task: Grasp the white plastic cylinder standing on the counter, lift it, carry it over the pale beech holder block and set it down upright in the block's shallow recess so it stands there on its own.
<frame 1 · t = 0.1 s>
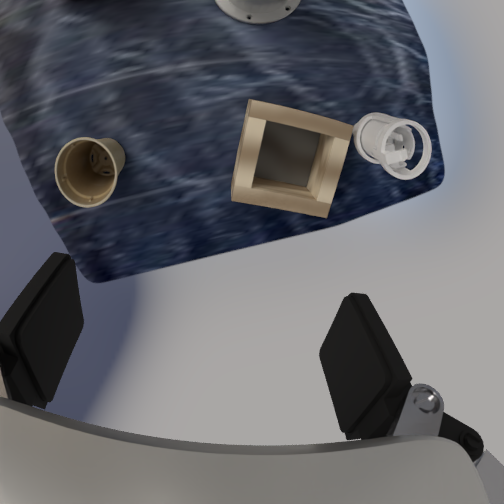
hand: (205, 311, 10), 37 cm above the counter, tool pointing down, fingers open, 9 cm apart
beech holder block: (283, 150, 43), on the counter
flower pot: (107, 157, 42), on the counter
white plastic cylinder: (361, 131, 43), on the counter
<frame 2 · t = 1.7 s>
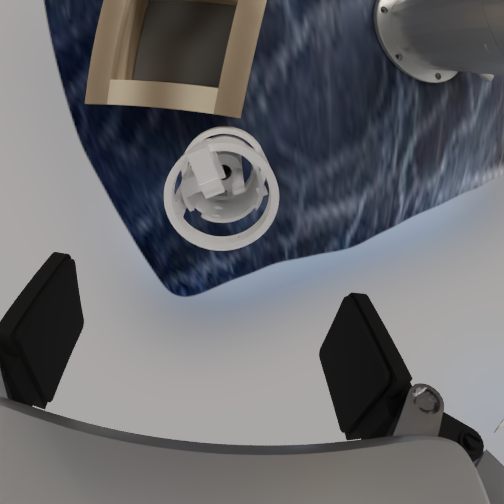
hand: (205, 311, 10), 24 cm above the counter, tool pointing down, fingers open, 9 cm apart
beech holder block: (185, 42, 24), on the counter
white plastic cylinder: (225, 153, 31), on the counter
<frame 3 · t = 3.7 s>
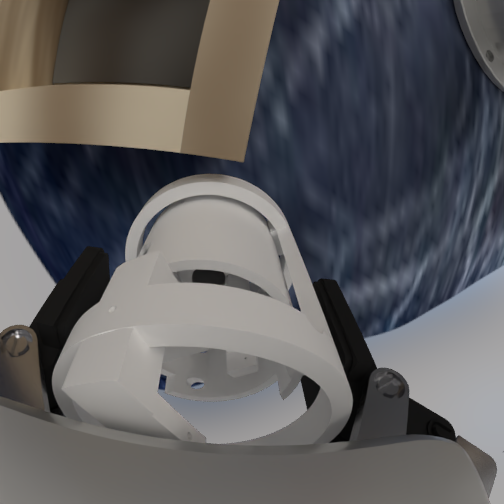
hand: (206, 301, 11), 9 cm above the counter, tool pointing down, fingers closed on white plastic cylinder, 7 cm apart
beech holder block: (143, 12, 12), on the counter
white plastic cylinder: (215, 205, 18), on the counter, touching gripper
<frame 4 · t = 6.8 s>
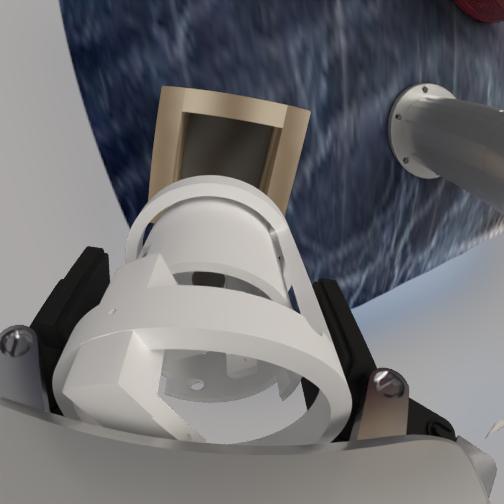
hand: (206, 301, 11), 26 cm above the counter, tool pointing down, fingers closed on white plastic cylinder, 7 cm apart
beech holder block: (225, 151, 33), on the counter
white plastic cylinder: (215, 206, 18), point 17 cm above the counter, touching gripper
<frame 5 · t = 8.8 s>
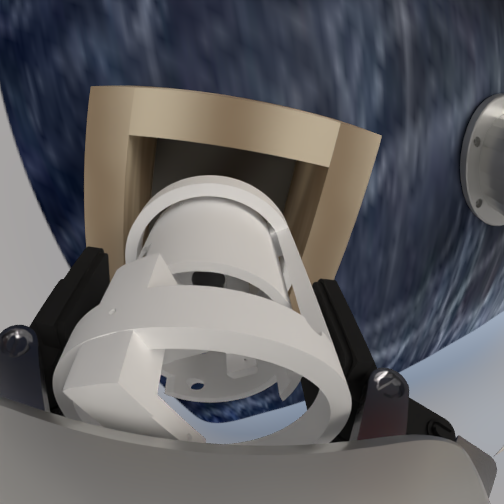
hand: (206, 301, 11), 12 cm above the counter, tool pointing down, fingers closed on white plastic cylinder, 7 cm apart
beech holder block: (218, 191, 21), on the counter
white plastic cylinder: (215, 206, 18), point 3 cm above the counter, touching gripper
when the fingers open (10 cm above the counter, at t = 10.4 s): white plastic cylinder stays where it is, resting on beech holder block.
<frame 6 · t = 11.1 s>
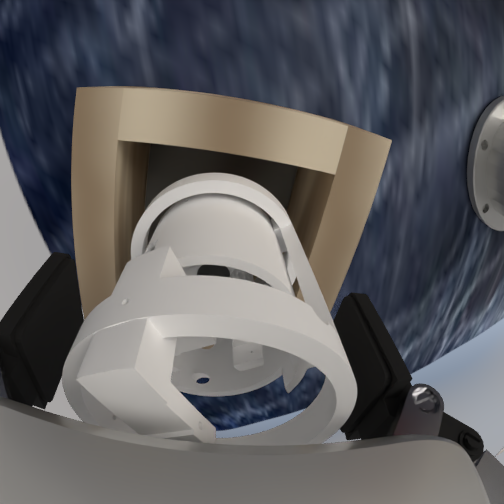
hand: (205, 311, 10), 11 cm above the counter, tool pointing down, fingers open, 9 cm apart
beech holder block: (216, 197, 20), on the counter
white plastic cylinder: (218, 204, 19), point 1 cm above the counter, touching beech holder block
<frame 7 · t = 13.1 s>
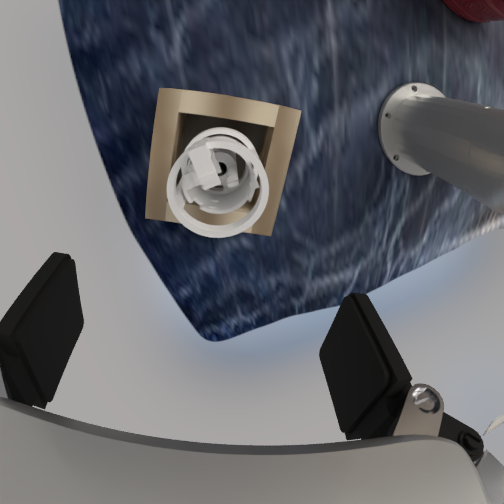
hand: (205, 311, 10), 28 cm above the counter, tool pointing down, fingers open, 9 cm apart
beech holder block: (220, 150, 34), on the counter
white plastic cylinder: (221, 152, 33), point 1 cm above the counter, touching beech holder block
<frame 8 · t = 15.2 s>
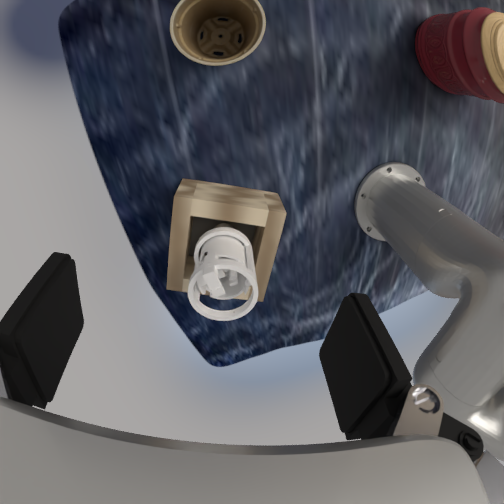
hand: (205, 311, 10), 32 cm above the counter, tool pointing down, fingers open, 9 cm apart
canister: (445, 54, 32), on the counter
beech holder block: (222, 228, 44), on the counter
flower pot: (220, 37, 31), on the counter
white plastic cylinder: (224, 232, 43), point 1 cm above the counter, touching beech holder block
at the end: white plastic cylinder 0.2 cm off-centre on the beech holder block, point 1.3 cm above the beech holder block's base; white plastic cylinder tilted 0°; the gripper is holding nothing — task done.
